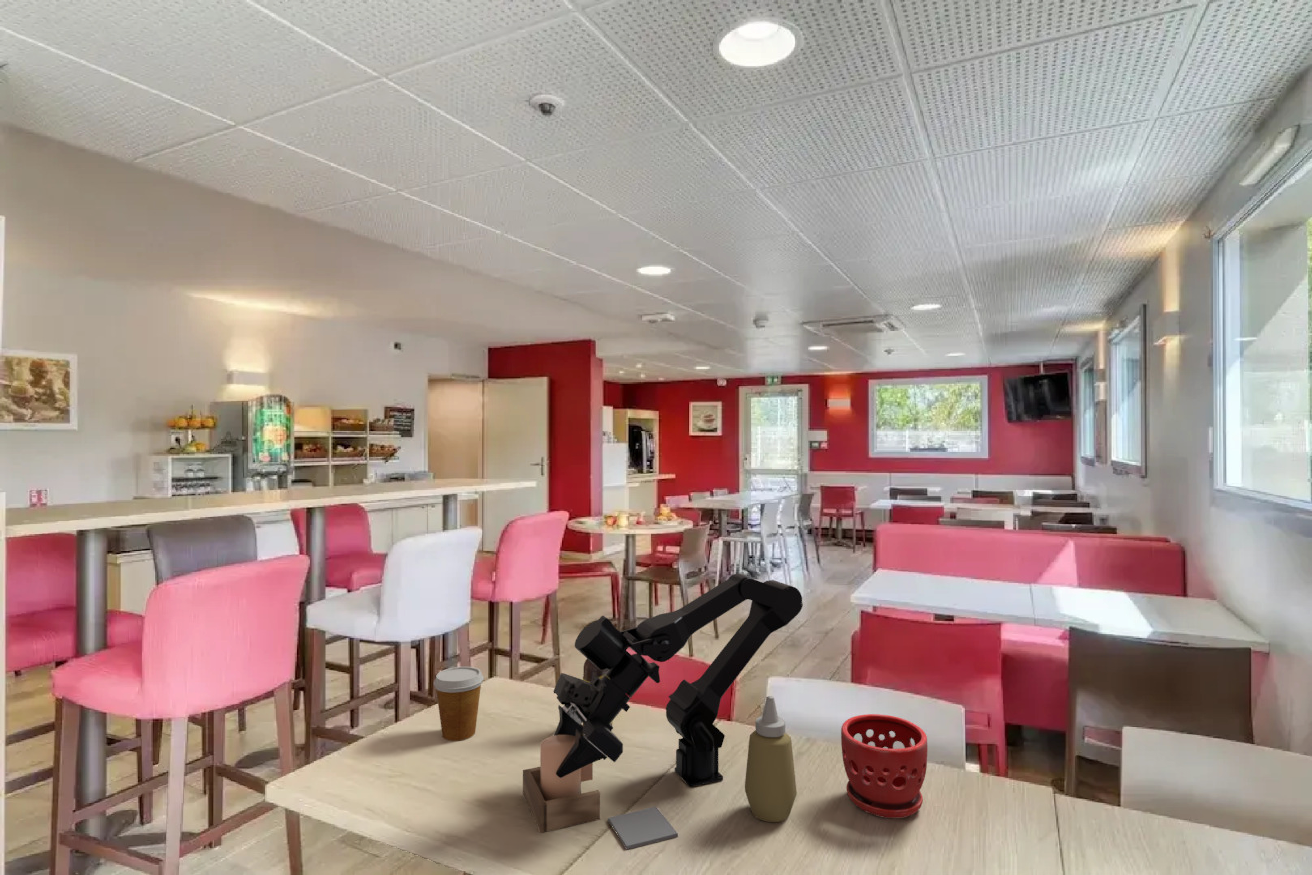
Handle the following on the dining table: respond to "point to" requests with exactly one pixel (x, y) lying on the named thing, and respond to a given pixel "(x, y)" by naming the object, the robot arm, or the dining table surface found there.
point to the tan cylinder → (551, 759)
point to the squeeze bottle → (770, 767)
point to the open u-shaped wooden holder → (558, 805)
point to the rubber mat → (642, 827)
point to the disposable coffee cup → (458, 701)
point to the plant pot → (884, 765)
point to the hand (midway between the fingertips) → (552, 766)
